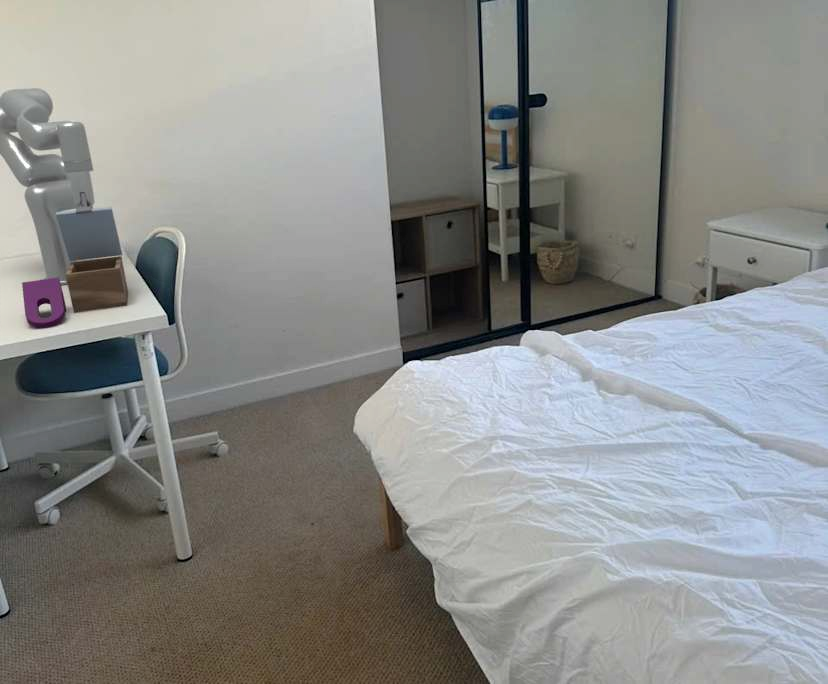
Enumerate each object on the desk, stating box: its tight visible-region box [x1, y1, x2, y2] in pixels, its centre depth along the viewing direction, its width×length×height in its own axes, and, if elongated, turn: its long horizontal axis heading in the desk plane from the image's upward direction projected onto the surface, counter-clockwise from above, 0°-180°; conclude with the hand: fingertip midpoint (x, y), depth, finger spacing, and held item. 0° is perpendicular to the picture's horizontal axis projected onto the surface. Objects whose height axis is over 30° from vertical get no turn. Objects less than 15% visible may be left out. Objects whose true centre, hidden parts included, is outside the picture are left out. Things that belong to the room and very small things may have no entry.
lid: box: [56, 206, 123, 262], centre depth 213 cm, size 17×15×2 cm
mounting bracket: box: [21, 277, 67, 329], centre depth 203 cm, size 10×8×18 cm
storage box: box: [66, 255, 129, 314], centre depth 214 cm, size 16×14×11 cm
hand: (91, 229), depth 219 cm, fingers closed
